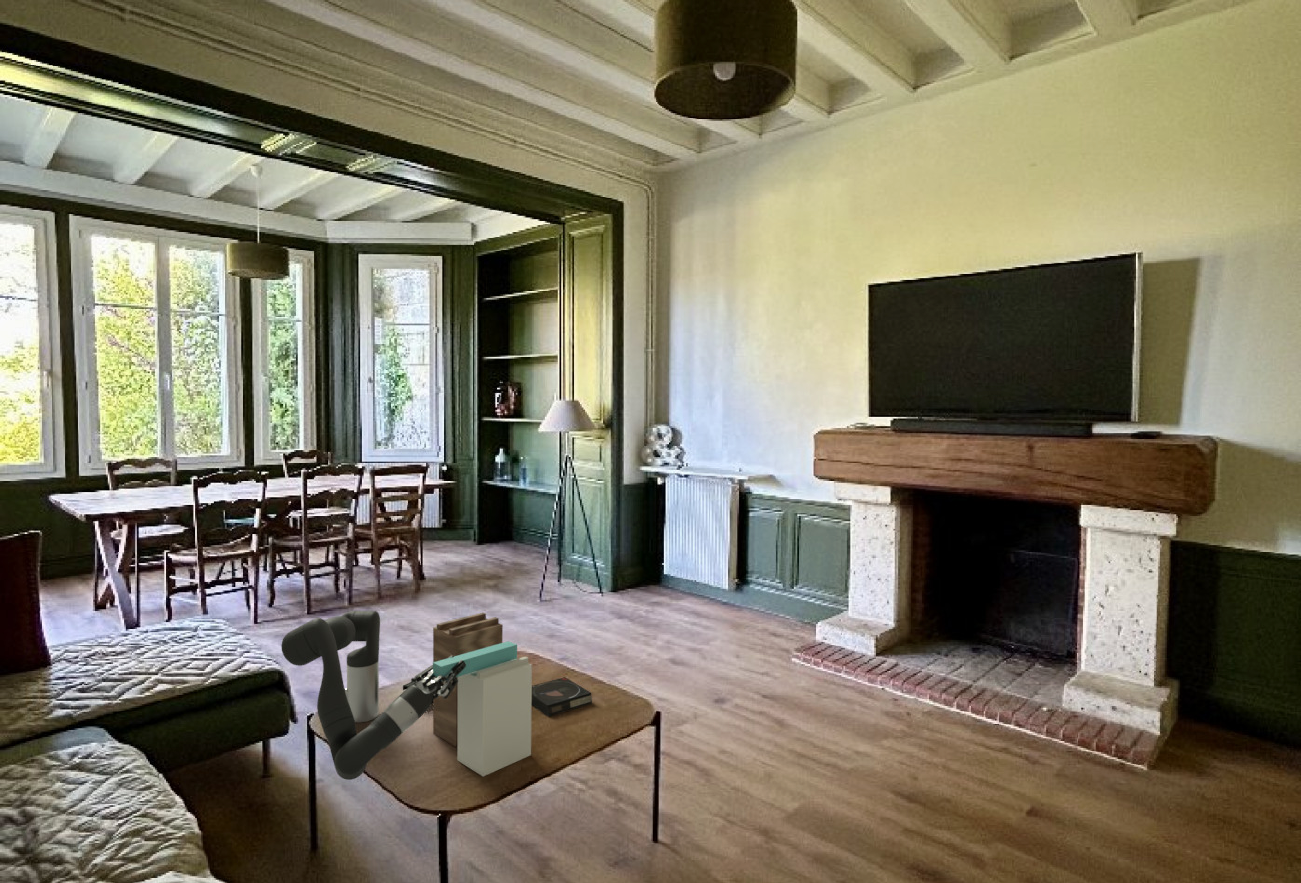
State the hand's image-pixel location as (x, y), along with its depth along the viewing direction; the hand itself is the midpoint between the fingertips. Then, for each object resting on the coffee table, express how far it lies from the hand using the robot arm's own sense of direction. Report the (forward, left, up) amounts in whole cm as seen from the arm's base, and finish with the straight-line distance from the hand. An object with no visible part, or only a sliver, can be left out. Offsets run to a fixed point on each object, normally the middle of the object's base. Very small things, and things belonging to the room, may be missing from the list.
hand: (458, 660), depth 191 cm
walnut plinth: (-5, +24, -31) cm, 39 cm away
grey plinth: (+7, +9, -31) cm, 33 cm away
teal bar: (+4, +4, -3) cm, 6 cm away
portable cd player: (+18, +47, -31) cm, 60 cm away
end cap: (-26, +43, -31) cm, 59 cm away
